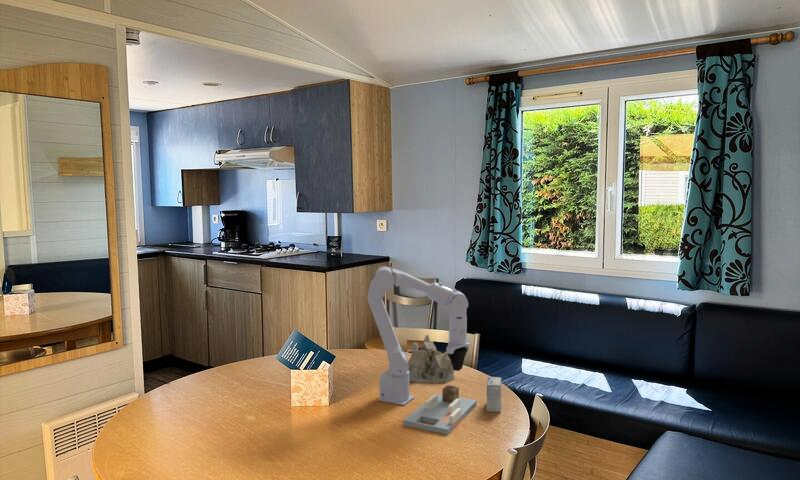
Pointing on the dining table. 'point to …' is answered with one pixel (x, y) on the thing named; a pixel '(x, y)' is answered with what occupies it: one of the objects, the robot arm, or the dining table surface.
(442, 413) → the deck
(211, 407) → the dining table surface
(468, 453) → the dining table surface
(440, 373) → the ceramic cottage
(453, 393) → the block
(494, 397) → the medicine box
